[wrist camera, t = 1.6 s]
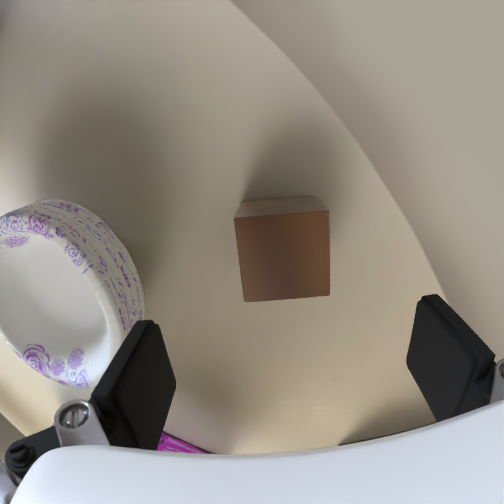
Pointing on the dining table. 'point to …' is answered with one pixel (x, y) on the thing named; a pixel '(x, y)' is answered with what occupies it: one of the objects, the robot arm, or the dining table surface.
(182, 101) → the dining table surface
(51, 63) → the dining table surface
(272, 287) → the walnut block
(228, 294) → the dining table surface
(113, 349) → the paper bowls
